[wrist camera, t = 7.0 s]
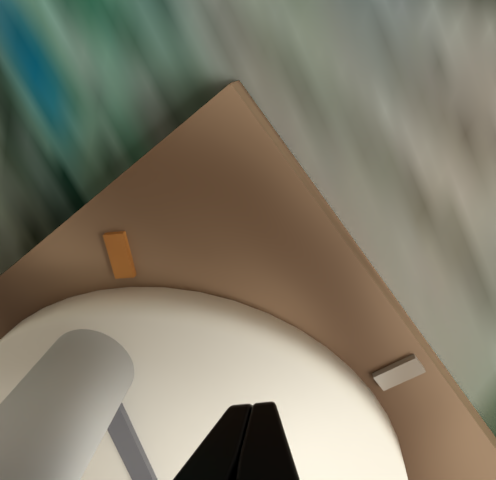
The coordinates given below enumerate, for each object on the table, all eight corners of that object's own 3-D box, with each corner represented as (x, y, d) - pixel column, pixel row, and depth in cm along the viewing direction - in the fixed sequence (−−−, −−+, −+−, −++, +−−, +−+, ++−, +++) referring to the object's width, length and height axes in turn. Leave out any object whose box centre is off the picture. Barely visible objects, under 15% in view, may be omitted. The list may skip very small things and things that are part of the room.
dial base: (166, 617, 23) (155, 658, 21) (-122, 381, 18) (-162, 411, 16) (541, 501, 16) (566, 548, 14) (239, 80, 11) (228, 83, 10)
